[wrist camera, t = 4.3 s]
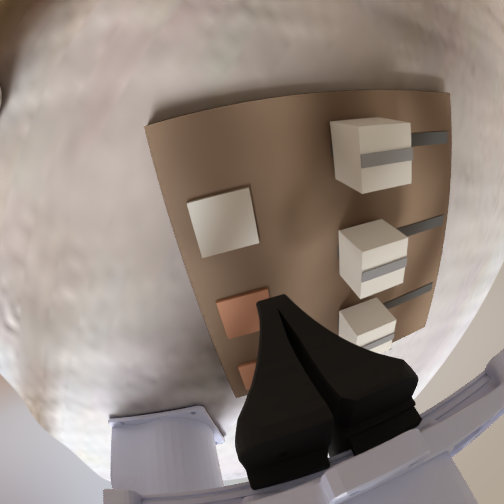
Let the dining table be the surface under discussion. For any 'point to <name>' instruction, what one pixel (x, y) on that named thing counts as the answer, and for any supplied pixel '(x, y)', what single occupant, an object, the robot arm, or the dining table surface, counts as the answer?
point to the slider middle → (372, 257)
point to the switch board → (295, 209)
